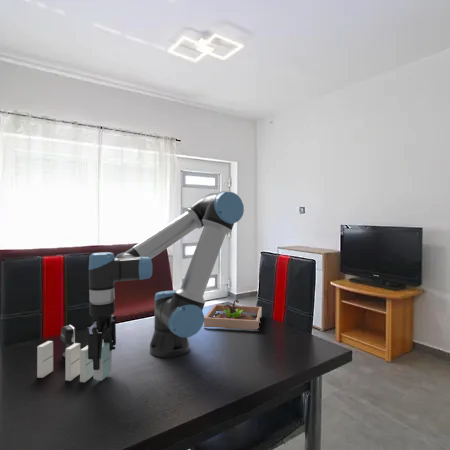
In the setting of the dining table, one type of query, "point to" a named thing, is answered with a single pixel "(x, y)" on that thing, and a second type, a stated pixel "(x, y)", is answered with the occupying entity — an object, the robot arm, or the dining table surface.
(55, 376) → the dining table surface
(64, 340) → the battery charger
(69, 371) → the domino
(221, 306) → the planter corral
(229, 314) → the plant
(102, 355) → the domino
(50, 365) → the end domino
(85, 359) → the domino
